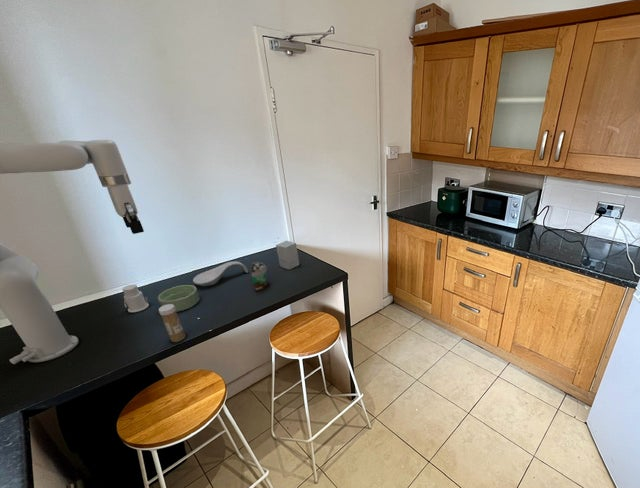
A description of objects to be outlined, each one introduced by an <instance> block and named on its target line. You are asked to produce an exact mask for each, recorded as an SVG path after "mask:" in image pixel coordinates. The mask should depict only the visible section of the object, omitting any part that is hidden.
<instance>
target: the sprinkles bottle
mask: <svg viewBox="0 0 640 488" xmlns="http://www.w3.org/2000/svg"><path fill="white" fill-rule="evenodd" d="M158 313H159V314H160V316H161V318H162V321H163V324H164V326H165V327H164V328H165V329H166V331H167V333H168V335H169V338H170V341H171V342H172V343H177V342H181V341H182V340H184V339H185V338H186V334H185V331H184V328H183V326H182V323H181V320H180V318H179V316H178V312H176V308H175V306H174V305H173V304H167V305H164V306H162V307H161V306H160V307H159V308H158Z"/></svg>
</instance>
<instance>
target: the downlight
mask: <svg viewBox="0 0 640 488" xmlns="http://www.w3.org/2000/svg"><path fill="white" fill-rule="evenodd" d="M122 291H123V300H124V301H123V302H124V304H123V305H124V307H125V308H127V311H128V313H137V312H141V311H144V310H145V309H147V308H148V307H149V306H150V304H149V303H148V297H147V296H145V297H144V294H143V291H141V290H139V287H138V285H137V284H128V285H126V286H124V287H123V288H122Z"/></svg>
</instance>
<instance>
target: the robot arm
mask: <svg viewBox="0 0 640 488" xmlns="http://www.w3.org/2000/svg"><path fill="white" fill-rule="evenodd" d="M90 164H92V165H93V168H94V170H95V173H96V175H97V177H98V179H99V182H100V184H101V187H102V188H106V189H107V192H108V194H109V197H110V200H111V201H112V205H113V207H114V209H115V210H114V211H115V212H116V214H117V215H118V216H119V217H121V218H122V220H123V222H124V224H125V226H126V228H130V232H131V233H132V235H136V234H140V233H144V232H145V230H144V227H143V225H142V222H141V220H140V219H139V217H138V213H139V212H138V209H137V206H136V202H135V200H134V197H133V195H132V192H131V189H130V187H129V185H132V181H131V178H130V176H129V173H128V170H127V168H126V166H125V163H124V160H123V157H122V155H121V153H120V150H119V147H118V145H117V143H116V142H115V141H114V140H111V139H94V140H93V139H92V140H87V141H85V140H67V139H66V140H60V141H58V142H40V143H39V142H37V143H17V142H6V141H1V140H0V175H1V174H3V175H4V174H22V173H23V174H25V173H48V172H63V171H64V172H65V171H75V170H80V169H82V168H84V167H85V166H87V165H90ZM38 274H39V269H38V266H37V265H36V263H35V262H34V261H32V260H31V259H29V258H28V257H26V256H24V255H23V254H20V253H19V252H17V251H16V250H14V249H12V248H10V247H8V246H7V245H5V244H3V243H1V242H0V310H1V311H2V313H3V314H4V316H5V317H6V318H7V320H8V321H9V323H10V324H11V325H12V327H13V328H14V330H15V331H16V333H17V335H18V336H19V338H20V339H21V340H22V343H24V345H25V346H23V347H22V350H23V351H21V352H20V354H17V355H16V356H14V357H12V358H10V359H9V362H10V363H11V364H13V365H16V364H18V363H19V362H21V361H23V363H25V362H29V363H42V362H46V361H51V360H54V359H56V358H59V357H61V356H63V355H65V354H67V353H69V352H71V351H72V350H73V349H75V348H76V347H77V345H78V344H79V343H80V341H79V338H78V336H76V335H69V334H68V332H67V330H66V328H65V327H64V325H63V323H62V321H61V320H60V318H59V317H58V315H57V313H56V311H55V309H54V308H53V306H52V304H51V302H50V301H49V299H48V298H47V297H46V295H45V293H44V292H43V291H42V290H41V288H40V287H39V285H38V284H37V277H38Z"/></svg>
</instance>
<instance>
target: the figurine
mask: <svg viewBox="0 0 640 488" xmlns="http://www.w3.org/2000/svg"><path fill="white" fill-rule="evenodd" d="M251 266H252V268H251V273H250V274H251V278H252V281H253V285H254V290H255V292H259V291H262V290H264V289H265V288H267V287H268V279H267V271H268V268H267V266H266V265H265V264H264V263H263V262H260V261H259V262H258V261H256V262H253V261H252V262H251Z"/></svg>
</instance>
